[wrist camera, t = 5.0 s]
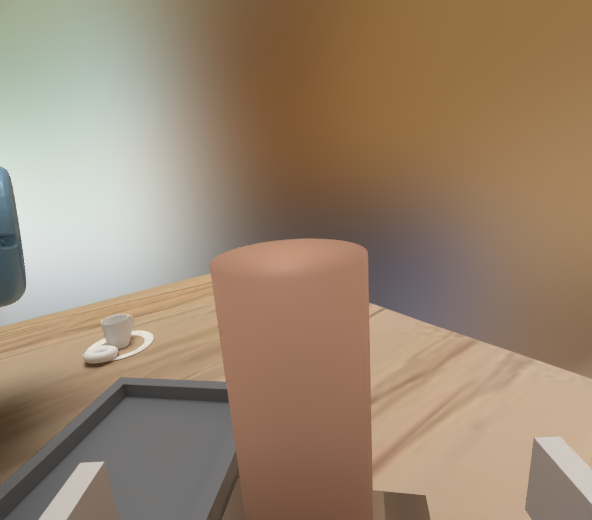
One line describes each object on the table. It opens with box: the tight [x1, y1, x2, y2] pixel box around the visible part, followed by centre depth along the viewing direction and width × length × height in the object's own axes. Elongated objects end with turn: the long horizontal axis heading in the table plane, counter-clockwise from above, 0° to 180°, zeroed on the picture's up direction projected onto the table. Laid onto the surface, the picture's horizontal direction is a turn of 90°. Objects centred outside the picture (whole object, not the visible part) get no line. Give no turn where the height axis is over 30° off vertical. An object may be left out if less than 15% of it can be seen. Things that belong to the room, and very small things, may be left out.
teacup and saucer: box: [83, 314, 154, 364], centre depth 44 cm, size 9×8×4 cm
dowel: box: [210, 239, 373, 520], centre depth 12 cm, size 4×4×18 cm
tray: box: [0, 377, 240, 520], centre depth 24 cm, size 14×16×2 cm
